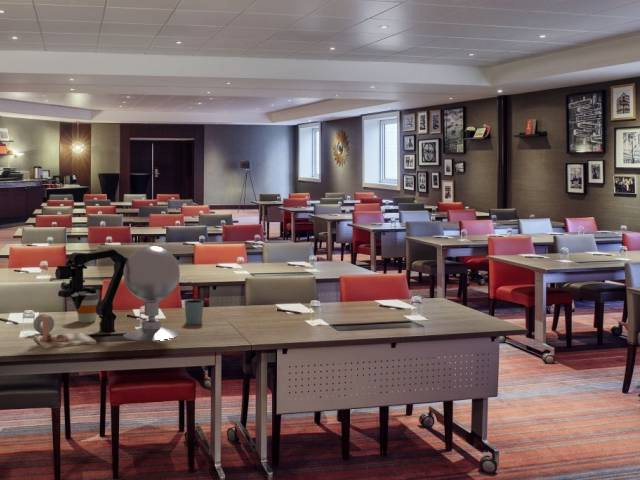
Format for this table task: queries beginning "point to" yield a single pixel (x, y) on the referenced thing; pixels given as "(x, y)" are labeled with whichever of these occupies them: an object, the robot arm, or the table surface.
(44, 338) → the pink l-shaped piece
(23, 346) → the table surface
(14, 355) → the table surface
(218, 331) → the table surface
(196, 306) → the grey-green tapered cup
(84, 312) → the reusable coffee cup
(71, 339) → the board
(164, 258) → the desk lamp
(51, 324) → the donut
